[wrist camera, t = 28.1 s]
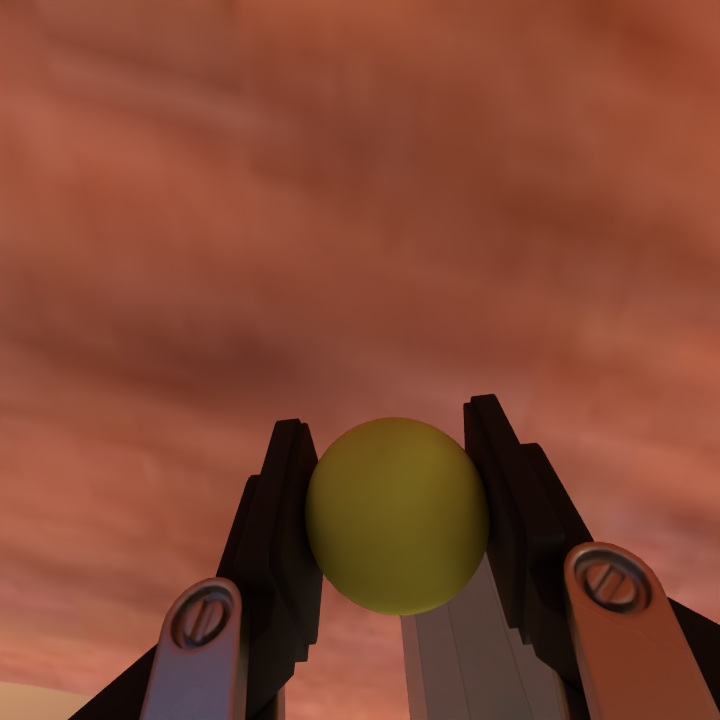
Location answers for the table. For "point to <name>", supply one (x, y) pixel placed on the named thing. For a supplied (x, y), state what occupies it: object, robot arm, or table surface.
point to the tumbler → (473, 661)
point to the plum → (397, 516)
